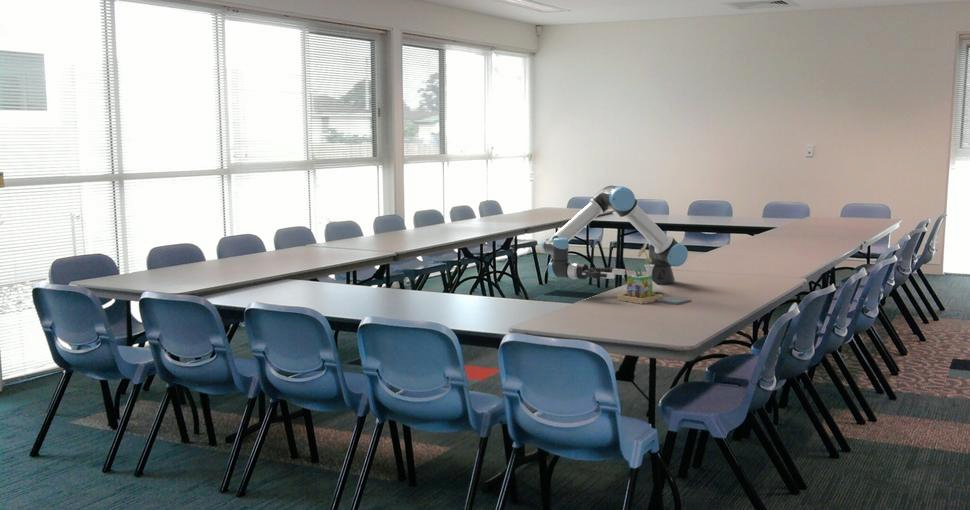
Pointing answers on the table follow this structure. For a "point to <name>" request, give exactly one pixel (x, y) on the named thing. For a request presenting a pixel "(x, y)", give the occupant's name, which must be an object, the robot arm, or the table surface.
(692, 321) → the table surface
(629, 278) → the chalk box
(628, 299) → the light wooden square frame
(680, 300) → the charcoal mat
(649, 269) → the flower in vase
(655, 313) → the table surface
